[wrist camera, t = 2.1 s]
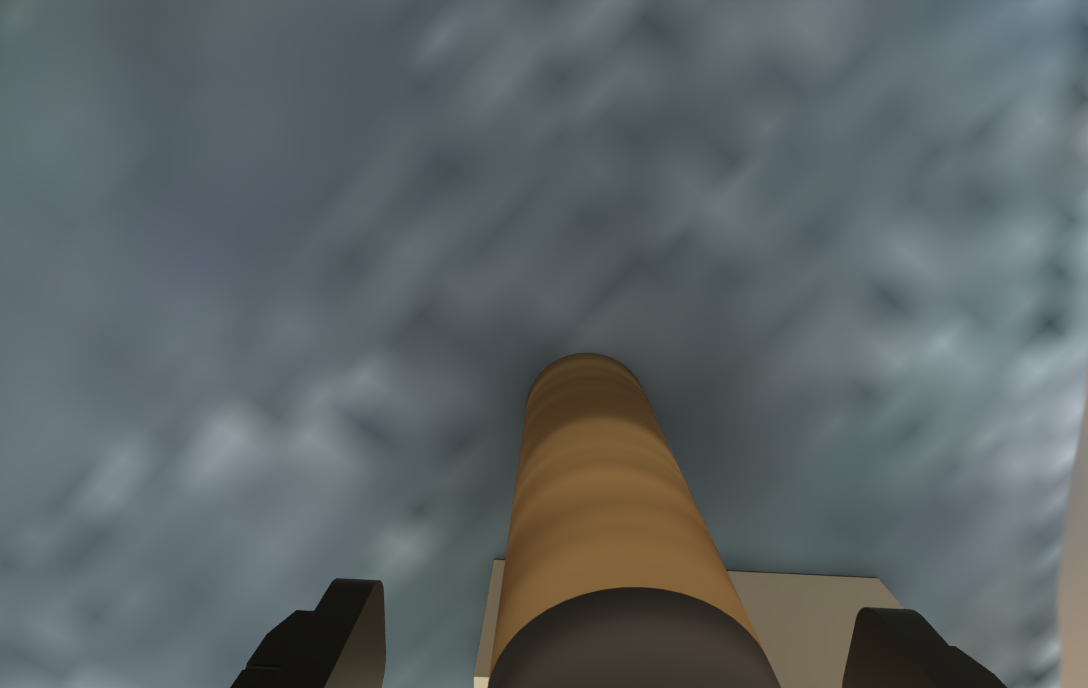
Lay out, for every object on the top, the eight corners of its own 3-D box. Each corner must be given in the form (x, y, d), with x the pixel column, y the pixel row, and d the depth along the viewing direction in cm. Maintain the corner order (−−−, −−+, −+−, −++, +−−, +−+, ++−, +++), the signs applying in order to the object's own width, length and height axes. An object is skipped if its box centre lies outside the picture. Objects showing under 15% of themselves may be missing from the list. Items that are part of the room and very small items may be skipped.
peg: (528, 350, 18) (476, 641, 6) (650, 355, 17) (839, 659, 6) (524, 461, 19) (474, 894, 7) (640, 466, 19) (782, 910, 7)
